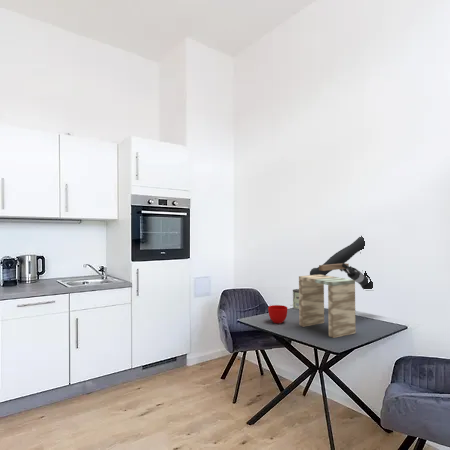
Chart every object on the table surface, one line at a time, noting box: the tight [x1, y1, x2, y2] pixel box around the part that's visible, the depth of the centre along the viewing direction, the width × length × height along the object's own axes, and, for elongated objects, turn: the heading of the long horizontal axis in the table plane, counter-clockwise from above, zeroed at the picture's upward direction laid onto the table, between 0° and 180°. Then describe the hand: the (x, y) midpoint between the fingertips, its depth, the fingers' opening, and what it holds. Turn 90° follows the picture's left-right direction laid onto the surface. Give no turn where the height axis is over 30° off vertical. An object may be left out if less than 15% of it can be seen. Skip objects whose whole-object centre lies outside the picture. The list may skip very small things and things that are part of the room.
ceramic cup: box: [267, 304, 288, 324], centre depth 235 cm, size 13×17×10 cm
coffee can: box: [292, 288, 299, 310], centre depth 274 cm, size 10×10×14 cm
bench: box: [298, 274, 357, 339], centre depth 216 cm, size 30×18×32 cm, turn 28°
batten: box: [318, 262, 350, 271], centre depth 229 cm, size 4×23×3 cm, turn 118°
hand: (340, 264), depth 232 cm, fingers closed on batten, 4 cm apart
